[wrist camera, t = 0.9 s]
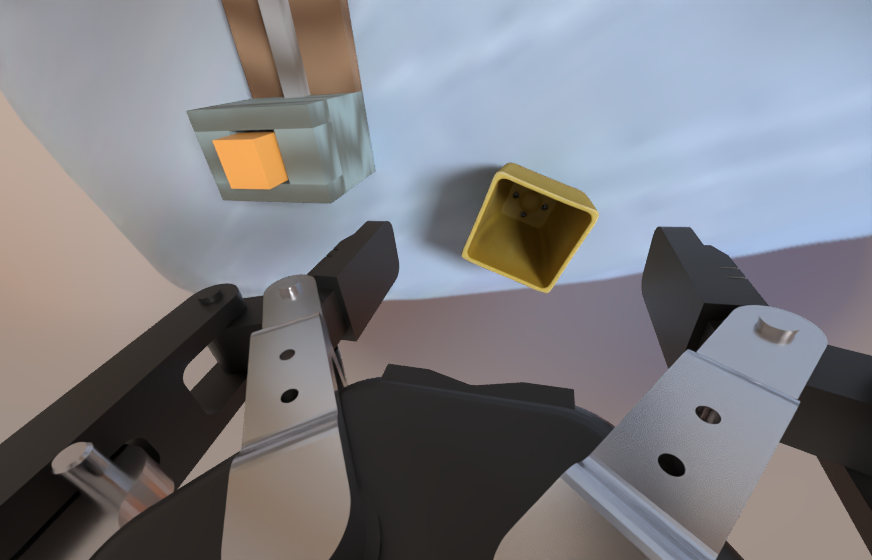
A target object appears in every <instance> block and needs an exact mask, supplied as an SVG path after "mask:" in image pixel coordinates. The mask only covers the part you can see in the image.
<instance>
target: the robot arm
mask: <svg viewBox="0 0 872 560" xmlns="http://www.w3.org/2000/svg"><path fill="white" fill-rule="evenodd" d="M737 268H738V267H737V266H736V264H735V263H734V262H733V261H732V259H731V258H730V257H729V256H728V255H727V254H725V253H723V252H722V251H720V250H718V249H716V248H715V247H713V246H711V245H703V244H702V242H701V241H700V239H699V238H698V237H697V235H696V234H695V233H694V231H693V230H692V229H691V228H690V227H657V228H656V230H655V232H654V234H653V238H652V242H651V245H650V249H649V253H648V257H647V261H646V264H645V268H644V272H643V276H642V295H643V298H644V301H645V304H646V307H647V309H648V312H649V315H650V318H651V321H652V324H653V327H654V329H655V332H656V335H657V338H658V341H659V344H660V347H661V349H662V352H663V355H664V358H665V361H666V364H667V366H668V370H667V371H666V373H665V374H664V375H663V376H662V377H661V378H660V379H659V380H658V381H657V382H656V383H655V385H654V386H653V387H652V388H651V389H650V390H649V391H648V392H647V393H646V394H645V395H644V396H643V398H642V399H641V400H640V401H639V402H638V403H637V404H636V405H635V406H634V407H633V408H632V409H631V411H630V412H629V413H628V414H627V415H626V416H625V417H624V418H623V419H622V420H621V421H620V423H619V424H618V425H617V426H616V427H615V426H613V425H612V424H611V423H609V422H608V421H606V420H604V419H603V418H601V417H599V416H598V415H596V414H594V413H592V412H590V411H588V410H586V409H583V408H580V407H578V406H576V405H575V401H574V390H573V389H568V388H560V387H553V386H546V385H539V384H531V383H524V382H521V383H506V384H490V385H469V384H466V383H464V382H461V381H458V380H455V379H453V378H450V377H448V376H445V375H442V374H440V373H437V372H435V371H432V370H429V369H422V368H415V367H408V366H401V365H394V364H388V365H387V367H386V369H385V371H384V374H383V375H382V377H376V378H371V379H366V380H362V381H359V382H356V383H354V384H351V385H348V382H347V378H346V374H345V369H344V366H343V361H342V358H341V353H340V350H339V347H338V343H339V342H340V340H349V341H357V340H358V338H359V337H360V335H361V334H362V332H363V331H364V329H365V327H366V326H367V324H368V323H369V321H370V320H371V318H372V316H373V315H374V313H375V312H376V310H377V309H378V307H379V305H380V304H381V302H382V301H383V299H384V298H385V296H386V294H387V293H388V291H389V290H390V288H391V287H392V285H393V283H394V282H395V280H396V279H397V276H398V272H399V259H398V254H397V249H396V243H395V238H394V233H393V228H392V225H391V223H390V222H389V221H367V222H366V223H365V224H364V225H363V226H362V227H361V228H360V229H359V230H358V231H357V232H356V233H355V234H353V235H351V236H349V237H348V238H346V239H344V240H342V241H341V242H340V243H339V244H338V245H337V246H336V247H335V248H334V249H333V250H331V251H330V252H329V253H328V254H327V257H324V258H323V259H322V260H321V261H320V262H319V263H318V264H317V265H316V266H315V267H314V268H313V269H312V270H311V271H310V272H309V273H308V274H307V275H303V274H300V275H292V276H288V277H285V278H283V279H280V280H278V281H276V282H274V283H273V284H272V285H270V286H269V287H268V288H267V289H266V290H265V292H264V295H263V296H257V297H250V298H243V297H242V295H241V293H240V291H239V289H238V288H237V286H236V285H233V284H219V285H214V286H211V287H208V288H205V289H203V290H201V291H199V292H197V293H195V294H194V295H192V296H191V297H190V298H188V299H187V300H186V301H184V302H183V303H182V304H181V305H179V306H178V307H177V308H175V309H174V310H173V311H171V312H170V313H169V314H168V315H166V316H165V317H164V318H162V319H161V320H160V321H159V322H158V323H156V324H155V325H154V326H152V327H151V328H150V329H148V330H147V331H146V332H144V333H143V334H142V335H140V336H139V337H138V338H137V339H136V340H134V341H133V342H131V343H130V344H129V345H128V346H126V347H125V348H124V349H122V350H121V351H120V352H119V353H118V354H116V355H115V356H113V357H112V358H111V359H110V360H108V361H107V362H106V363H104V364H103V365H102V366H100V367H99V368H98V369H97V370H95V371H94V372H93V373H91V374H90V375H89V376H88V377H86V378H85V379H84V380H83V381H81V382H80V383H79V384H77V385H76V386H75V387H73V388H72V389H71V390H69V391H68V392H67V393H66V394H64V395H63V396H62V397H60V398H59V399H58V400H57V401H55V402H54V403H53V404H52V405H50V406H49V407H48V408H46V409H45V410H44V411H42V412H41V413H40V414H39V415H37V416H36V417H35V418H33V419H32V420H31V421H29V422H28V423H27V424H26V425H24V426H23V427H22V428H20V429H19V430H18V431H17V432H16V433H14V434H13V435H11V436H10V437H9V438H8V439H6V440H5V441H4V442H2V443H1V444H0V560H744V559H743V558H742V557H741V556H740V555H739V554H738V553H737V551H736V550H735V549H734V548H733V547H732V546H731V545H730V544H729V543H728V542H727V541H726V540H727V538H728V536H729V534H730V532H731V530H732V529H733V527H734V525H735V523H736V521H737V519H738V517H739V516H740V513H741V512H742V510H743V508H744V506H745V504H746V503H747V501H748V499H749V497H750V495H751V493H752V491H753V489H754V488H755V486H756V484H757V482H758V480H759V478H760V477H761V475H762V473H763V471H764V469H765V467H766V465H767V463H768V462H769V460H770V458H771V456H772V454H773V453H774V451H775V449H776V447H777V445H778V443H779V442H780V443H783V444H786V445H788V446H791V447H794V448H797V449H799V450H802V451H804V452H807V453H810V454H813V455H815V456H817V458H818V460H819V461H820V464H821V465H822V467H823V469H824V471H825V473H826V474H827V476H828V478H829V480H830V482H831V483H832V485H833V487H834V489H835V491H836V492H837V494H838V496H839V497H840V500H841V501H842V503H843V505H844V507H845V508H846V510H847V512H848V514H849V516H850V518H851V519H852V521H853V523H854V525H855V527H856V528H857V530H858V532H859V533H860V535H861V537H862V539H863V541H864V543H865V544H866V546H867V548H868V550H869V552H870V553H871V555H872V356H870V355H866V354H862V353H858V352H854V351H850V350H846V349H842V348H838V347H834V346H831V345H827V343H828V342H827V338H826V336H825V334H824V333H823V332H822V331H821V330H820V329H819V328H818V327H817V326H816V325H814V324H813V323H811V322H810V321H808V320H806V319H805V318H803V317H801V316H798V315H796V314H793V313H791V312H788V311H785V310H782V309H778V308H774V307H769V305H768V304H767V303H766V302H765V301H764V299H763V298H762V297H761V295H760V294H759V293H758V292H757V291H756V289H755V288H754V287H753V286H752V284H751V283H750V282H749V281H748V279H745V276H744V274H743V273H742V272H741V271H740V270H739V269H737ZM206 346H208V348H209V349H210V351H211V352H212V354H213V356H214V357H215V359H216V360H217V364H216V365H215V366H214V367H213V368H212V369H211V370H210V371H209V372H208V373H207V374H206V375H205V376H204V377H203V378H202V379H201V381H200V382H199V383H198V384H197V385H196V386H195V387H194V388H193V389H192V390H191V391H189V390H188V388H187V387H186V386H185V384H184V382H183V373H184V370H185V368H186V367H187V365H188V364H189V363H190V362H191V361H192V359H194V358H195V357H196V356H197V355H198V354H199V353H200V352H201V351H202V350H203V349H204V348H205V347H206ZM244 402H245V412H244V425H243V438H242V447H241V450H240V451H239V452H238V453H236V454H234V455H233V456H231V457H229V458H228V459H226V460H225V461H223V462H221V463H220V464H218V465H216V466H215V467H213V468H212V469H210V470H208V471H207V472H205V473H204V474H202V475H200V476H199V477H197V478H196V479H194V480H192V481H191V482H189V483H188V484H186V485H184V486H183V487H181V488H179V486H180V485H181V484H182V482H183V481H184V480H185V479H186V477H187V476H188V474H189V473H190V472H191V471H192V469H193V468H194V467H195V466H196V464H197V463H198V462H199V460H200V459H201V458H202V456H203V455H204V454H205V453H206V451H207V450H208V448H209V447H210V446H211V445H212V443H213V442H214V441H215V439H216V438H217V437H218V436H219V434H220V433H221V432H222V430H223V429H224V428H225V427H226V425H227V424H228V423H229V421H230V420H231V419H232V417H233V416H234V415H235V413H236V412H237V411H238V410H239V408H240V407H241V406H242V404H243V403H244ZM178 488H179V489H178ZM177 489H178V490H177Z"/></svg>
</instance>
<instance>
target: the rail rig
mask: <svg viewBox="0 0 872 560" xmlns="http://www.w3.org/2000/svg"><path fill="white" fill-rule="evenodd" d="M222 3H223V6H224V10H225V13H226V16H227V19H228V22H229V25H230V28H231V32H232V35H233V38H234V41H235V44H236V47H237V50H238V54H239V57H240V60H241V63H242V66H243V69H244V72H245V76H246V79H247V82H248V85H249V88H250V91H251V94H252V98H253V99H248V100H243V101H237V102H232V103H226V104H221V105H216V106H210V107H205V108H199V109H194V110H188V111H186V112H187V115H188V117H189V119H190V122H191V124H192V127H193V129H194V131H195V134H196V136H197V139H198V141H199V143H200V146H201V148H202V151H203V153H204V155H205V158H206V160H207V163H208V165H209V167H210V170H211V172H212V174H213V177H214V179H215V182H216V184H217V186H218V189H219V191H220V194H221V196H222V198H223V200H234V201H268V202H302V203H332V202H334V201H335V200H336V199H338V198H339V197H341V196H342V195H343V194H345V193H346V192H347V191H349V190H350V189H351V188H353V187H354V186H356V185H357V184H358V183H360V182H361V181H362V180H364V179H365V178H367V177H368V176H369V175H371V174H372V173H373V172H375V165H374V159H373V153H372V147H371V141H370V135H369V129H368V123H367V117H366V111H365V105H364V99H363V93H362V87H361V81H360V75H359V69H358V62H357V56H356V50H355V44H354V38H353V32H352V26H351V20H350V14H349V8H348V2H347V0H222ZM250 132H275V136H276V139H277V142H278V146H279V149H280V152H281V155H282V159H283V162H284V165H285V169H286V172H287V175H288V179H289V180H287V181H285V182H283V183H281V184H279V185H277V186H276V187H274V188H272V189H231V186H230V184H229V181H228V179H227V176H226V174H225V171H224V169H223V166H222V164H221V161H220V159H219V156H218V154H217V151H216V149H215V146H214V144H213V141H212V140H215V139H219V138H222V137H226V136H229V135H233V134H236V133H250Z"/></svg>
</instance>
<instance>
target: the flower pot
mask: <svg viewBox="0 0 872 560" xmlns="http://www.w3.org/2000/svg"><path fill="white" fill-rule="evenodd" d="M514 193H518V194H519V197H517V198H516V197H514V196H513V195H514ZM544 204H545V205H547V206H548V207H547V209H542V206H543V205H544ZM522 212H525V213H526V216H524V217H523V216H521V213H522ZM598 217H599V213H598V211H597V210H596V208H595V207H594V205H593V204H592V202H591V201H590V199H589V198H588V197H587V195H586V194H585V193H583V192H582V191H580V190H578V189H576V188H573V187H571V186H568V185H565V184H563V183H561V182H558V181H556V180H553V179H551V178H548V177H546V176H543V175H541V174H539V173H536V172H534V171H531V170H529V169H527V168H524V167H522V166H520V165H518V164H515V163H507V164H506V165H504V166H503V167H502V168H501V169H500V170H499V171H498V172H497V173H496V174H495V175H494V177H493V179H492V182H491V184H490V187H489V189H488V192H487V194H486V197H485V199H484V202H483V204H482V207H481V209H480V211H479V213H478V216H477V218H476V221H475V223H474V225H473V228H472V230H471V232H470V235H469V237H468V239H467V242H466V244H465V246H464V248H463V251H462V257H463V258H464V259H465V260H467V261H469V262H472V263H474V264H476V265H478V266H481V267H483V268H485V269H488V270H490V271H493V272H495V273H497V274H500V275H502V276H505V277H507V278H509V279H512V280H514V281H516V282H519V283H521V284H523V285H526V286H528V287H530V288H532V289H535V290H538V291H541V292H544V293H548V292H550V290H551V289H552V288H553V286H554V285H555V283H556V282H557V280H558V279H559V277H560V276H561V274H562V273H563V271H564V270H565V268H566V266H567V265H568V263H569V262H570V260H571V259H572V257H573V256H574V254H575V253H576V251H577V250H578V248H579V247H580V245H581V244H582V242H583V241H584V240H585V238H586V237H587V235H588V234H589V232H590V231H591V229H592V228H593V226H594V225H595V223H596V221H597V220H598Z"/></svg>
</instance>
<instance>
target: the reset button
mask: <svg viewBox="0 0 872 560" xmlns="http://www.w3.org/2000/svg"><path fill="white" fill-rule="evenodd" d="M212 141H213V144H214V146H215V149H216V151H217V154H218V156H219V159H220V161H221V164H222V166H223V169H224V171H225V174H226V176H227V179H228V181H229V184H230V186H231V189H272V188H274V187H276V186H277V185H279V184H281V183H283V182H285V181H287V180H289V179H288V175H287V172H286V169H285V165H284V162H283V159H282V155H281V152H280V149H279V146H278V142H277V139H276V136H275V132H250V133H236V134H233V135H229V136H226V137H222V138H219V139H215V140H212Z"/></svg>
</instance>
